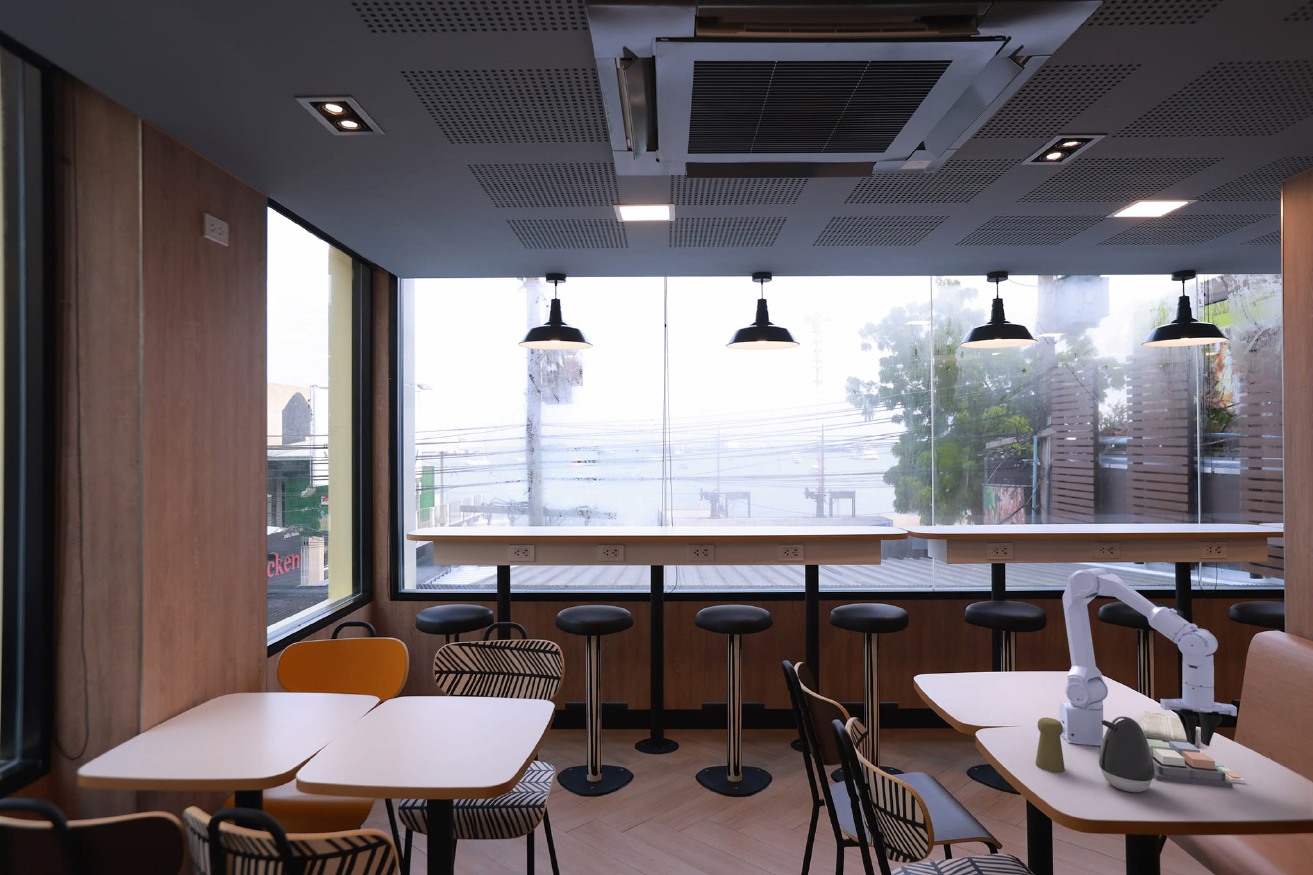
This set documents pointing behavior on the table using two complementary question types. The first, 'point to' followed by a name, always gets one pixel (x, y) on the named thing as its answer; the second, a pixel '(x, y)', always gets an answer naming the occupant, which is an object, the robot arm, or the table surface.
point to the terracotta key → (1198, 760)
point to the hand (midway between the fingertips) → (1198, 743)
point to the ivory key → (1169, 757)
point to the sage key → (1157, 745)
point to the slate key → (1182, 747)
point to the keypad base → (1190, 774)
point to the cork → (1050, 746)
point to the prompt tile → (1229, 773)
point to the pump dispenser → (1126, 755)
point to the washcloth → (1163, 727)
